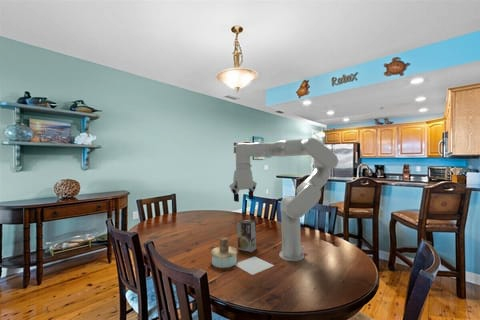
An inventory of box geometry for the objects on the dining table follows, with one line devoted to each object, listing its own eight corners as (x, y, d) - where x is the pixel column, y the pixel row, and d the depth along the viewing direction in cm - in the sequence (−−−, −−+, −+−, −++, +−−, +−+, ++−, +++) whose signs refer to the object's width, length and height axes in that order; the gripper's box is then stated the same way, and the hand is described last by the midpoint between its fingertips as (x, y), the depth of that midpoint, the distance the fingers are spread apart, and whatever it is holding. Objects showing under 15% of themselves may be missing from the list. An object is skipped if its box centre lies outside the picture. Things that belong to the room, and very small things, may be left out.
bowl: (227, 255, 128) (226, 246, 128) (241, 263, 118) (240, 253, 118) (207, 262, 120) (207, 252, 120) (220, 270, 111) (220, 260, 111)
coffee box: (256, 248, 137) (256, 220, 137) (251, 252, 131) (251, 223, 131) (243, 246, 141) (242, 218, 141) (237, 249, 136) (236, 221, 136)
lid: (227, 246, 128) (227, 233, 128) (242, 253, 118) (242, 239, 118) (206, 252, 120) (206, 238, 120) (220, 260, 110) (220, 245, 110)
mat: (254, 257, 125) (254, 256, 125) (274, 266, 114) (274, 265, 114) (233, 265, 116) (233, 264, 116) (252, 275, 105) (252, 274, 105)
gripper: (251, 166, 132) (251, 197, 132) (225, 167, 121) (226, 201, 121) (260, 166, 126) (261, 199, 126) (234, 168, 115) (234, 203, 115)
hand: (243, 200), depth 123 cm, fingers open, 9 cm apart
